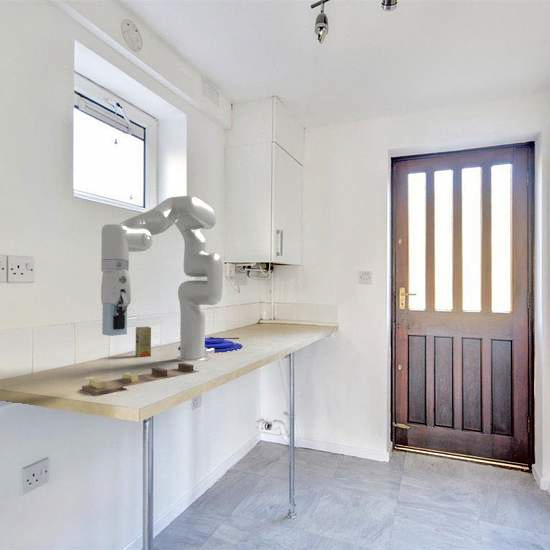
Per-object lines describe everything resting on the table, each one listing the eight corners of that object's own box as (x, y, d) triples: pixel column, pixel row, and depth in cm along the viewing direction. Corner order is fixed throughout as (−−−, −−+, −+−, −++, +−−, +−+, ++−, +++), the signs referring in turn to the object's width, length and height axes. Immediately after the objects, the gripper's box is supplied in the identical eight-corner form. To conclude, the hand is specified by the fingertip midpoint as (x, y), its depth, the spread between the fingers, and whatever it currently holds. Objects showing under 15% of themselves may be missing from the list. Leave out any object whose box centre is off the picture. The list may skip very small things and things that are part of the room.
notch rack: (182, 370, 139) (182, 361, 139) (199, 374, 132) (199, 365, 132) (82, 389, 114) (82, 378, 114) (97, 395, 107) (97, 384, 107)
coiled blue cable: (166, 337, 189) (218, 331, 210) (166, 348, 189) (218, 342, 210) (202, 343, 168) (255, 337, 189) (202, 356, 168) (255, 348, 188)
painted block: (118, 332, 120) (119, 303, 120) (126, 334, 116) (127, 303, 117) (102, 334, 116) (102, 303, 116) (110, 335, 113) (110, 304, 113)
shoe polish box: (138, 357, 164) (138, 328, 164) (135, 355, 168) (135, 327, 168) (150, 356, 166) (150, 327, 167) (147, 354, 171) (147, 326, 171)
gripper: (141, 266, 114) (140, 329, 113) (114, 267, 125) (113, 325, 125) (116, 265, 108) (115, 331, 108) (90, 267, 120) (89, 327, 119)
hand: (114, 327), depth 116 cm, fingers closed on painted block, 4 cm apart
